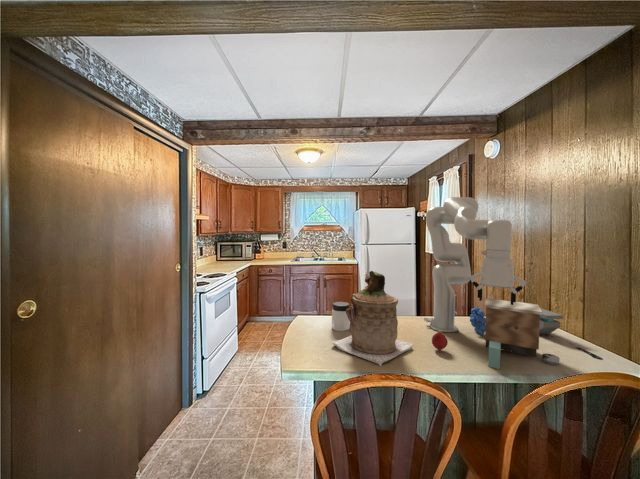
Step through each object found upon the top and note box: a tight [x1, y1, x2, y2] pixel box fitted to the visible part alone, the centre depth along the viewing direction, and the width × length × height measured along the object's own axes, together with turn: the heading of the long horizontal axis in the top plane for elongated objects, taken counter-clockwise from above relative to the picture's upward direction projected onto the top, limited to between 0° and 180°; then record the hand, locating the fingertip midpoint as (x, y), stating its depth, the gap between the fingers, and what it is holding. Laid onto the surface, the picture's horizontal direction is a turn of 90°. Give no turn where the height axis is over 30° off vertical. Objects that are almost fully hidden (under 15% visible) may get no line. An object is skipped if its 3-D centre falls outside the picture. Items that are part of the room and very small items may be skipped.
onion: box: [431, 331, 448, 351], centre depth 117 cm, size 6×6×8 cm
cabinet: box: [484, 298, 542, 357], centre depth 116 cm, size 18×14×19 cm
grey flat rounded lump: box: [541, 353, 561, 366], centre depth 107 cm, size 5×5×2 cm
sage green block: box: [487, 341, 502, 370], centre depth 110 cm, size 4×18×7 cm, turn 148°
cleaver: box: [566, 340, 604, 361], centre depth 125 cm, size 29×1×10 cm
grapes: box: [469, 306, 486, 335], centre depth 137 cm, size 12×7×12 cm, turn 4°
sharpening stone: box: [520, 301, 564, 335], centre depth 142 cm, size 25×8×11 cm, turn 4°
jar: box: [331, 301, 351, 332], centre depth 141 cm, size 9×8×12 cm
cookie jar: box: [331, 270, 414, 367], centre depth 118 cm, size 25×25×32 cm
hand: (495, 302), depth 105 cm, fingers open, 9 cm apart
